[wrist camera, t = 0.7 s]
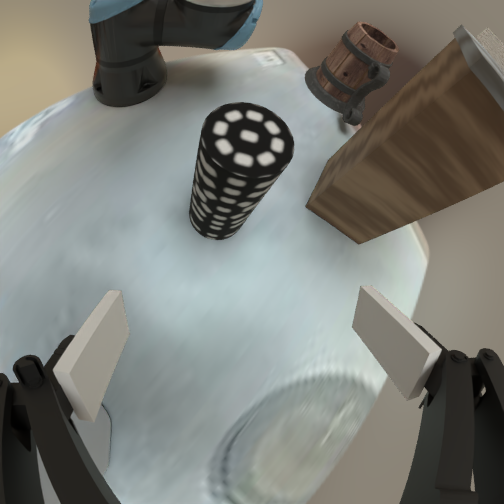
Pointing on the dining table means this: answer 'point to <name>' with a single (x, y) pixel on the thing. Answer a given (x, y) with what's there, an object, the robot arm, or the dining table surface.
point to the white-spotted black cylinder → (236, 166)
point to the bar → (493, 47)
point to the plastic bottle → (94, 441)
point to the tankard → (353, 71)
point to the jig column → (420, 147)
